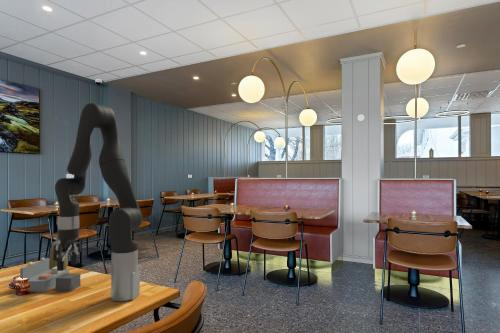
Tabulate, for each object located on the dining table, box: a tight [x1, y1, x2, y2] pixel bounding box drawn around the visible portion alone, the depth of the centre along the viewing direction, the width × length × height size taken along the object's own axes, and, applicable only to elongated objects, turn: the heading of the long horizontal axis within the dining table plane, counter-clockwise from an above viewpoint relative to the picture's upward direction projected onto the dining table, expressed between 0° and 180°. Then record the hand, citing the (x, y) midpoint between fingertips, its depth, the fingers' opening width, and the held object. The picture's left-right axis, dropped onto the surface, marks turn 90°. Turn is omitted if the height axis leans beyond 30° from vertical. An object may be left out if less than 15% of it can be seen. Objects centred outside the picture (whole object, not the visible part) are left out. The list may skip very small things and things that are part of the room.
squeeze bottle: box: [48, 233, 69, 270], centre depth 147 cm, size 8×8×18 cm
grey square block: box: [54, 272, 82, 292], centre depth 126 cm, size 7×7×5 cm
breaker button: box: [39, 274, 52, 279], centre depth 127 cm, size 3×3×4 cm
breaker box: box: [19, 257, 70, 293], centre depth 130 cm, size 10×15×10 cm
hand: (67, 267), depth 126 cm, fingers open, 8 cm apart
